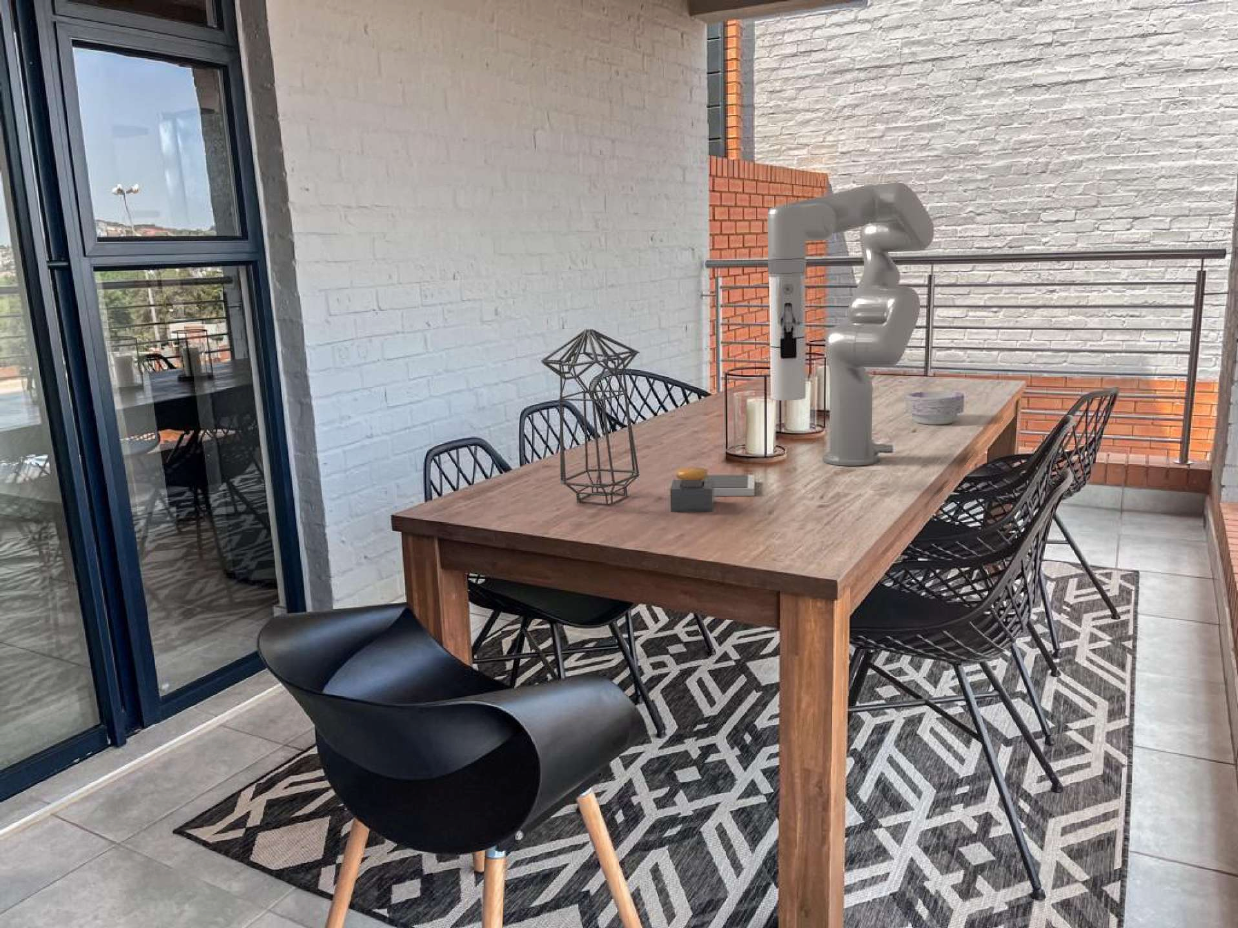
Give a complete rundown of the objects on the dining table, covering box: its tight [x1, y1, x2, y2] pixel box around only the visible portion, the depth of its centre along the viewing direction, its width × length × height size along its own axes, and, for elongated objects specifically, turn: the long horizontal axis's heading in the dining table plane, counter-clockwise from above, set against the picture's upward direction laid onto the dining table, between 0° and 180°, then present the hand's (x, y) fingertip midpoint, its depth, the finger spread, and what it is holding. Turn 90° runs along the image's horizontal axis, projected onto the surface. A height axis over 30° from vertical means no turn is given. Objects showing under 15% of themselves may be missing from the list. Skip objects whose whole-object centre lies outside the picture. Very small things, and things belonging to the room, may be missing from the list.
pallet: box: [704, 474, 755, 497], centre depth 203 cm, size 14×12×2 cm
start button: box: [676, 466, 708, 487], centre depth 189 cm, size 6×6×5 cm
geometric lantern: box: [540, 328, 640, 506], centre depth 195 cm, size 16×16×35 cm
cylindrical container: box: [768, 275, 807, 401], centre depth 198 cm, size 7×7×25 cm
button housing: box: [669, 478, 715, 513], centre depth 189 cm, size 8×8×4 cm
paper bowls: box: [905, 390, 965, 426], centre depth 265 cm, size 15×15×8 cm
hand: (787, 355), depth 199 cm, fingers closed on cylindrical container, 7 cm apart
